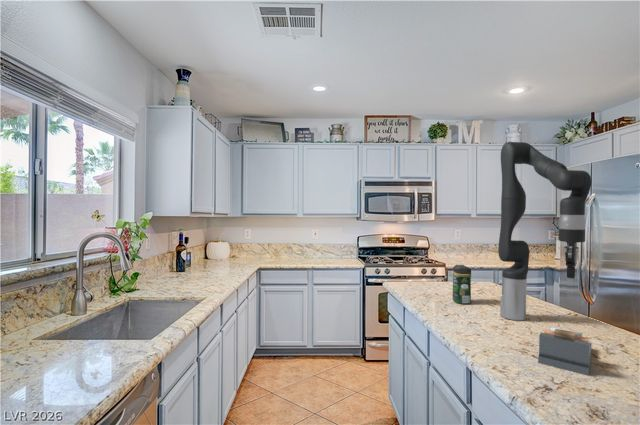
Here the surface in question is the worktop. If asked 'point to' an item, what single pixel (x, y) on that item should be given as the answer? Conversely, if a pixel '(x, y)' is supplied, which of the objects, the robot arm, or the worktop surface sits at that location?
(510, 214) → the robot arm
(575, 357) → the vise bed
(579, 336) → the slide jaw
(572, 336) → the walnut block
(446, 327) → the worktop surface
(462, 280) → the coffee jar
